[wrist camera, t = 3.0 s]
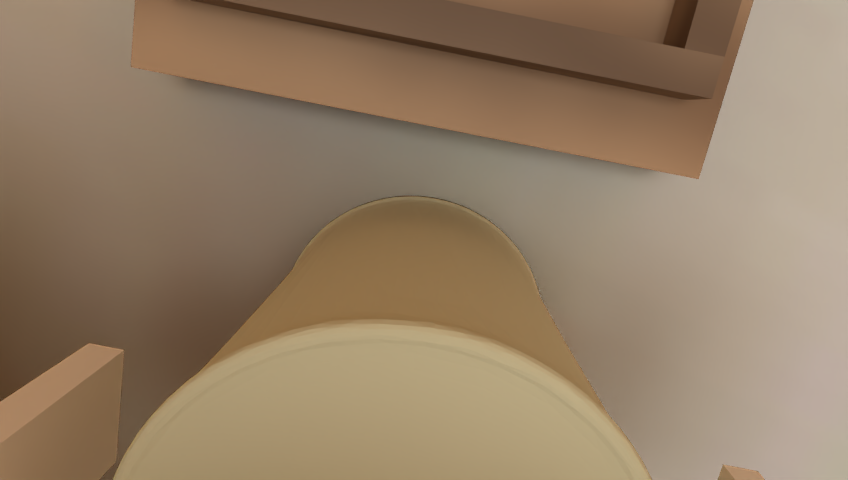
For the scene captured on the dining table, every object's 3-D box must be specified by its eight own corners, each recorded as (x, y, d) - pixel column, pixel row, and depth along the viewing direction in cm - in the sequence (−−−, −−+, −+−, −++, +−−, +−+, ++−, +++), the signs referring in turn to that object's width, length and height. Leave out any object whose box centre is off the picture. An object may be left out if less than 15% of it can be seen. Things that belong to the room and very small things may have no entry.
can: (315, 163, 19) (117, 254, 7) (575, 235, 19) (798, 433, 7) (260, 402, 21) (38, 777, 9) (496, 462, 21) (573, 897, 10)
